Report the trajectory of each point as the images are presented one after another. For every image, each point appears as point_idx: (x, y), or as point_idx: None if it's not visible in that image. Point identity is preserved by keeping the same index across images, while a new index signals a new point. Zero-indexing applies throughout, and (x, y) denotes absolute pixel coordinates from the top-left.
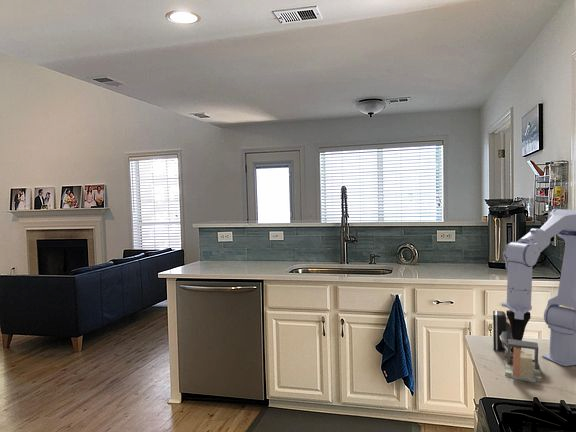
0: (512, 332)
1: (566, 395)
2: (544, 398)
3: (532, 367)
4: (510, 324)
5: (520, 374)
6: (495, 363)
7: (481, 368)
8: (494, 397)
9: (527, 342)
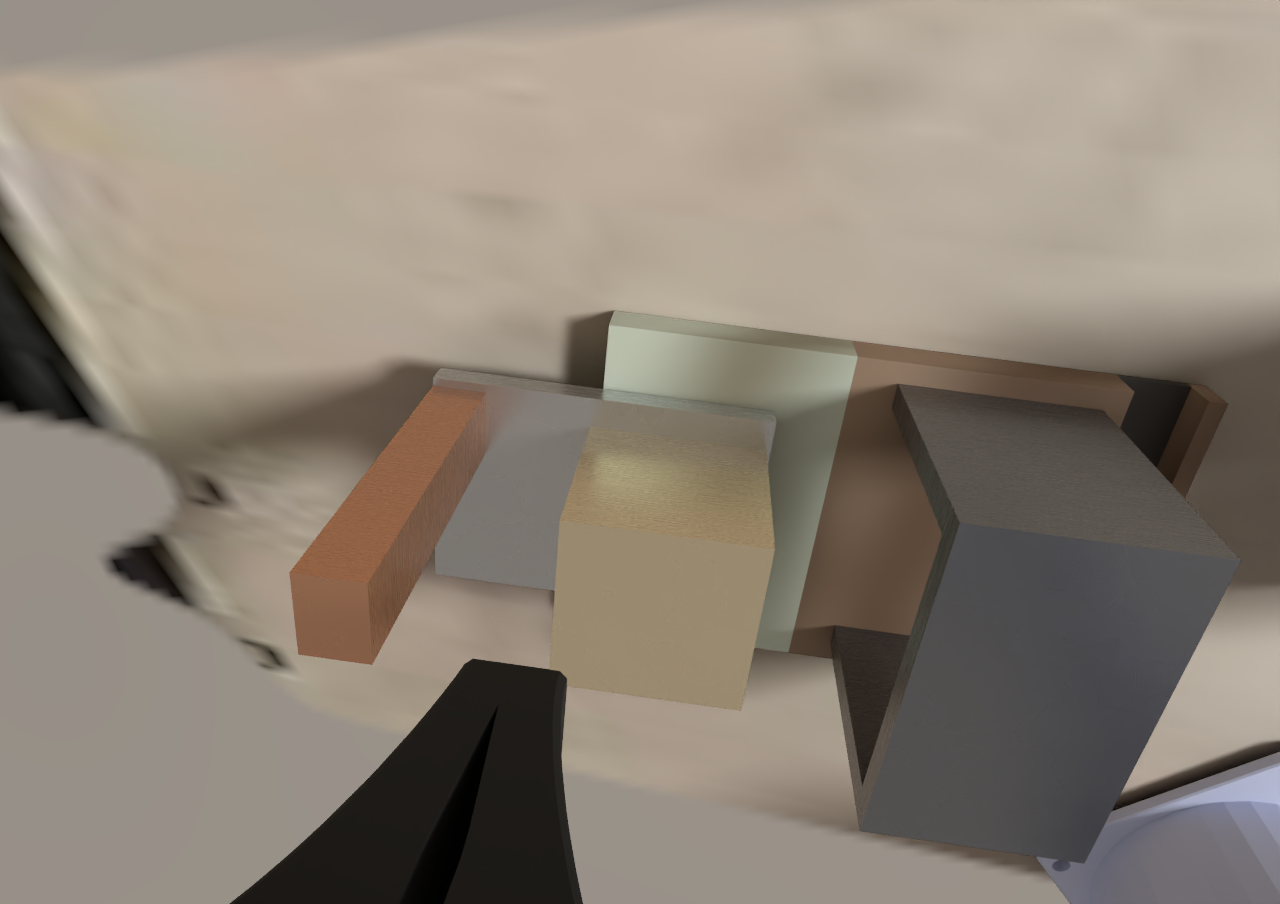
0: (399, 751)
1: (383, 704)
2: (230, 553)
3: (851, 608)
4: (252, 889)
5: (515, 468)
6: (1006, 245)
7: (768, 39)
8: None
9: (1077, 767)
